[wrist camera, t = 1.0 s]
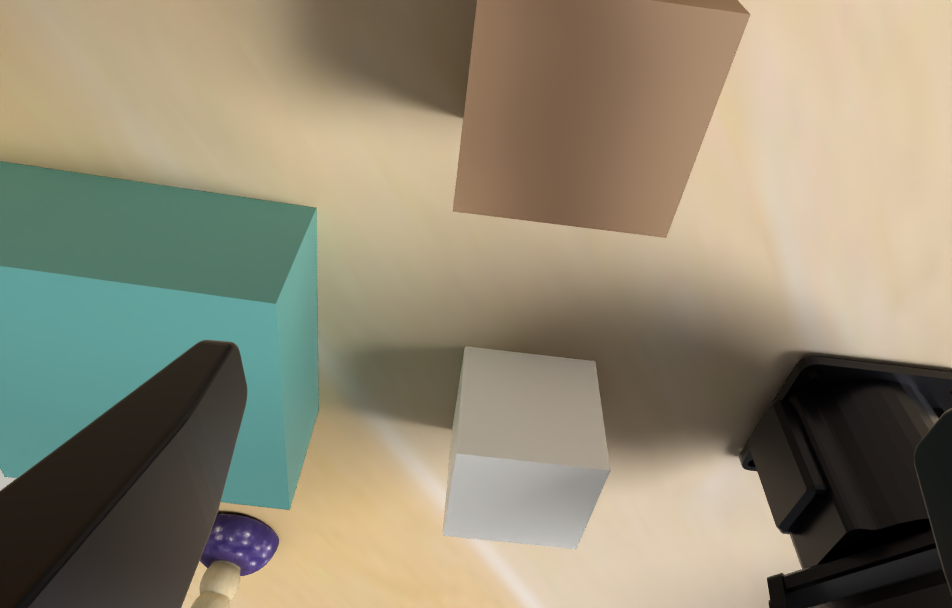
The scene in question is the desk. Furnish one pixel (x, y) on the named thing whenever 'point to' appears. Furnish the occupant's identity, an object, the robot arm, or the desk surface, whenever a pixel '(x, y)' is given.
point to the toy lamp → (233, 557)
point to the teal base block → (154, 312)
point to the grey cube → (525, 449)
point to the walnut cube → (591, 108)
